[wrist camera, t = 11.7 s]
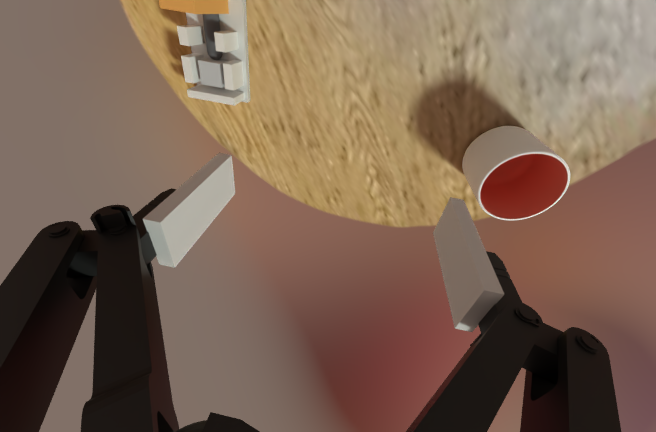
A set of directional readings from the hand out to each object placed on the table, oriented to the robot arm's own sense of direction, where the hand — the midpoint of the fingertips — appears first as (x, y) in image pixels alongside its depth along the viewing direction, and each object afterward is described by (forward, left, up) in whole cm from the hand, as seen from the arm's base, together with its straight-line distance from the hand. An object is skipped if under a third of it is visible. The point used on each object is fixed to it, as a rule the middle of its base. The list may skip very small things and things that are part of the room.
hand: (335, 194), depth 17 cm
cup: (+6, +22, -29) cm, 37 cm away
